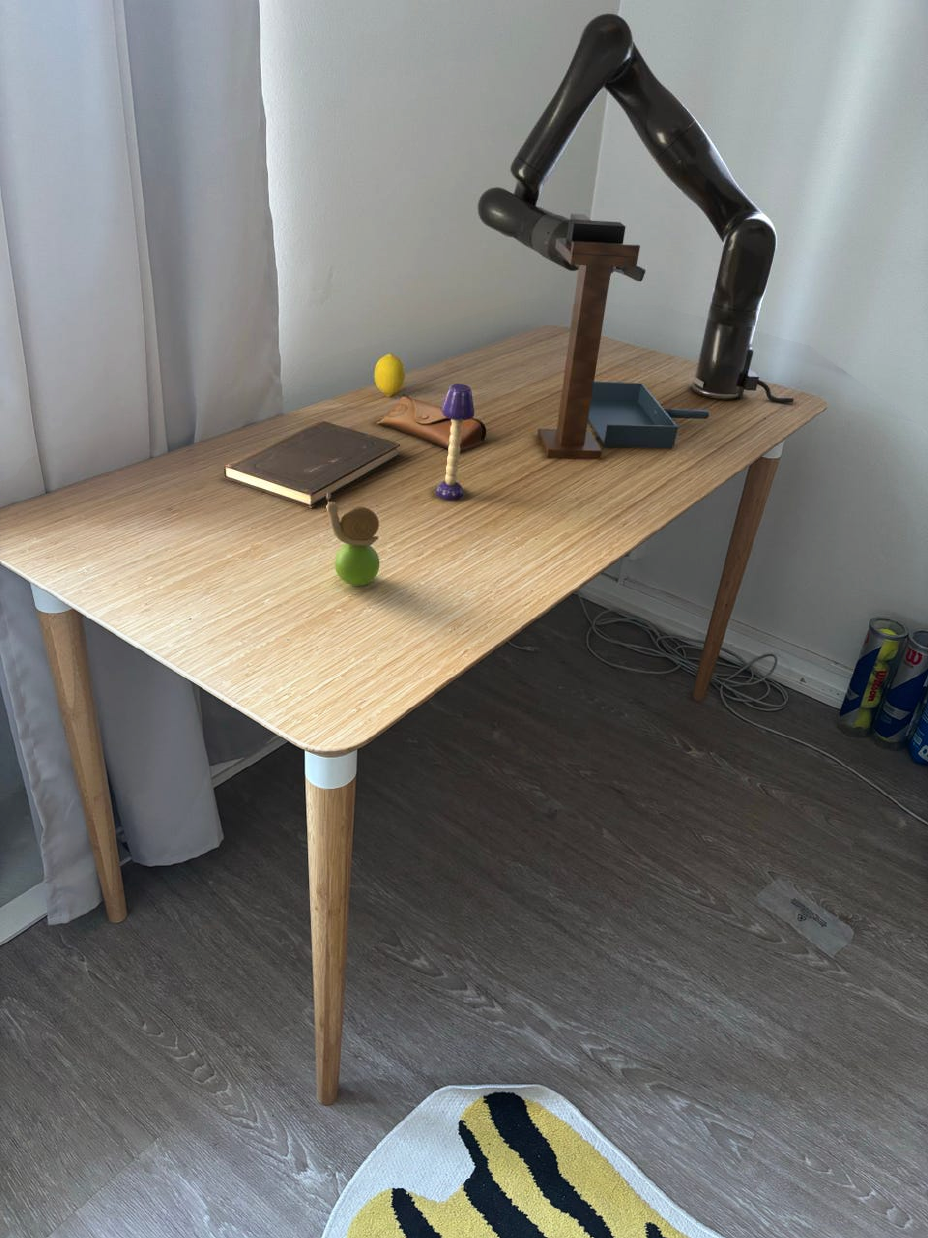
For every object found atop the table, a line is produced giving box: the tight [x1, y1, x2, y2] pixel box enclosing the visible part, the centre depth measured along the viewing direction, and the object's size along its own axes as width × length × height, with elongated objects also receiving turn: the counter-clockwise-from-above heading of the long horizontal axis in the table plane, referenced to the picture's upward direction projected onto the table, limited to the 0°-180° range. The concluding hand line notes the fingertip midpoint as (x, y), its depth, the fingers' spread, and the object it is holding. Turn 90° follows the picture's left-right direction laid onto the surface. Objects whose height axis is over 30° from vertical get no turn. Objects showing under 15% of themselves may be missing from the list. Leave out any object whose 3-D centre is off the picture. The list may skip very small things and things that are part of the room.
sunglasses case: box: [376, 393, 487, 452], centre depth 156 cm, size 18×7×7 cm
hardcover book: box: [223, 419, 401, 509], centre depth 141 cm, size 16×23×2 cm
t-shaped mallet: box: [566, 213, 626, 246], centre depth 144 cm, size 14×8×3 cm, turn 7°
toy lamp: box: [435, 383, 475, 501], centre depth 133 cm, size 5×5×17 cm
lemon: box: [374, 352, 406, 398], centre depth 168 cm, size 6×6×8 cm
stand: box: [536, 238, 641, 460], centre depth 147 cm, size 10×11×34 cm
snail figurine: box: [325, 492, 380, 587], centre depth 111 cm, size 5×6×12 cm
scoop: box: [588, 381, 711, 449], centre depth 167 cm, size 22×22×4 cm
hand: (627, 273), depth 156 cm, fingers open, 8 cm apart
